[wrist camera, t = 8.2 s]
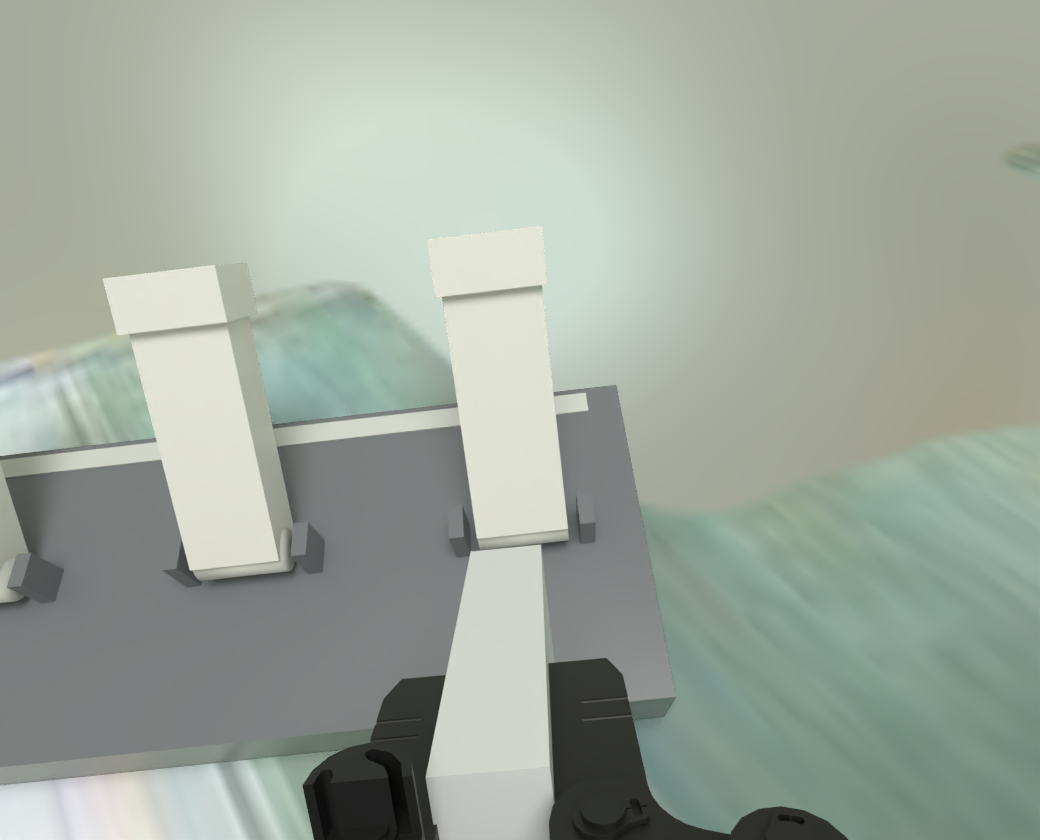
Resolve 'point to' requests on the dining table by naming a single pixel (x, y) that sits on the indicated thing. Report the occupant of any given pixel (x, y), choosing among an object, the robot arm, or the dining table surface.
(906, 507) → the dining table surface
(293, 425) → the breaker panel
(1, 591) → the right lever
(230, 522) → the middle lever
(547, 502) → the lever
